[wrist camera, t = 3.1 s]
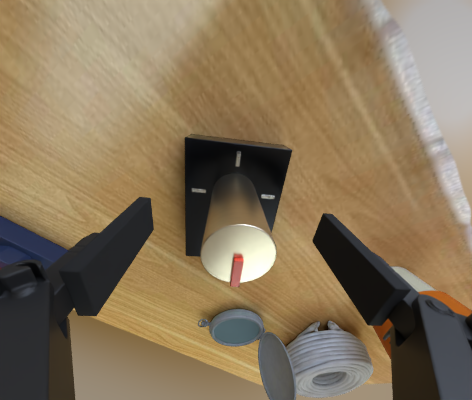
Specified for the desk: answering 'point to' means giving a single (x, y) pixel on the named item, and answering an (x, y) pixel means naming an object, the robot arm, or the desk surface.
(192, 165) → the black dial base
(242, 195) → the lock knob
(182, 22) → the desk surface
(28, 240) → the button block
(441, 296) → the reusable coffee cup
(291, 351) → the cable
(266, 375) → the pocket watch
